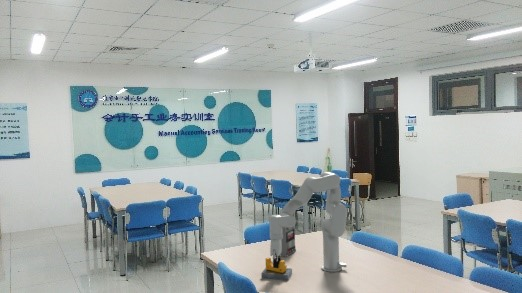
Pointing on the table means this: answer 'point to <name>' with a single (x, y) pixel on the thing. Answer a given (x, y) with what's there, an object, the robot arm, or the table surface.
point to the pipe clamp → (281, 268)
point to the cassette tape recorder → (288, 241)
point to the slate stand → (276, 274)
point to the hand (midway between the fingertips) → (277, 265)
